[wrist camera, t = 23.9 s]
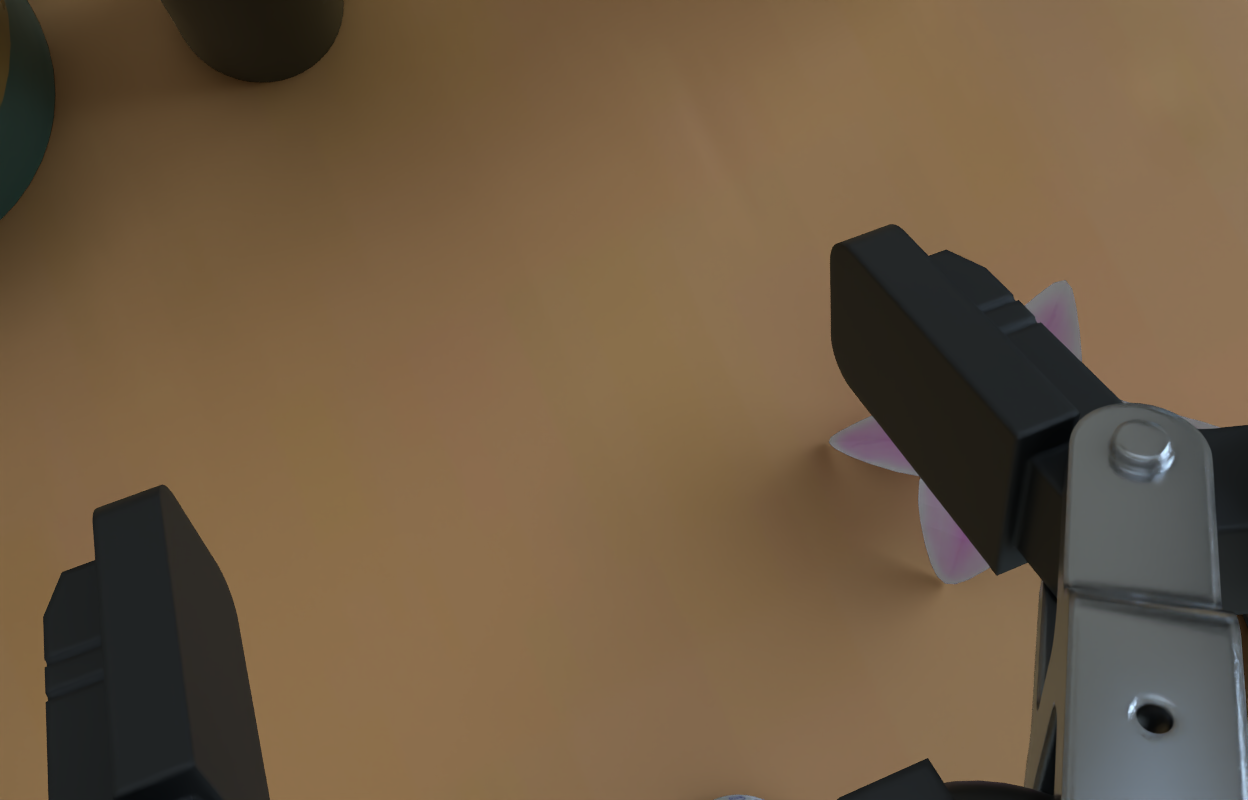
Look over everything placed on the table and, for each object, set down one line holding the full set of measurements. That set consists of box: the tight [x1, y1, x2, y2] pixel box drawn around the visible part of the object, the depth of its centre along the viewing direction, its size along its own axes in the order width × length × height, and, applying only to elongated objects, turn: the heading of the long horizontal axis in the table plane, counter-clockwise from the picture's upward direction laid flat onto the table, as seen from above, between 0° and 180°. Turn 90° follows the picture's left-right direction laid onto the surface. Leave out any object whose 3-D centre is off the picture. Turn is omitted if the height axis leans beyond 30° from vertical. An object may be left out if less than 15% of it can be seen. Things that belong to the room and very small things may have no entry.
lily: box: [829, 280, 1219, 584], centre depth 40 cm, size 12×12×10 cm
